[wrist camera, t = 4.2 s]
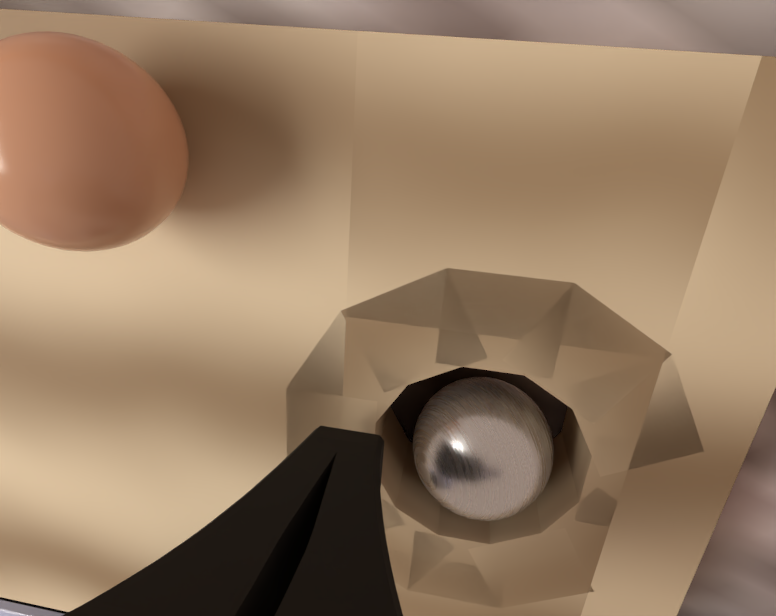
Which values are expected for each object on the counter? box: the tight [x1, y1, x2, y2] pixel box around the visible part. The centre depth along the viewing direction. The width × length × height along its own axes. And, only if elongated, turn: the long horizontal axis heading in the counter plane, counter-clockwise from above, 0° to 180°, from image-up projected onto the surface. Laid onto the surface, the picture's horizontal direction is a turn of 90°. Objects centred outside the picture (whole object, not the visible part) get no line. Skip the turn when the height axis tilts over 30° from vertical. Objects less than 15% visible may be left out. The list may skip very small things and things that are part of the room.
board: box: [0, 9, 776, 616], centre depth 13 cm, size 16×20×2 cm
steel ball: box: [413, 377, 554, 521], centre depth 12 cm, size 3×3×3 cm
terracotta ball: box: [0, 31, 189, 252], centre depth 8 cm, size 3×3×3 cm
